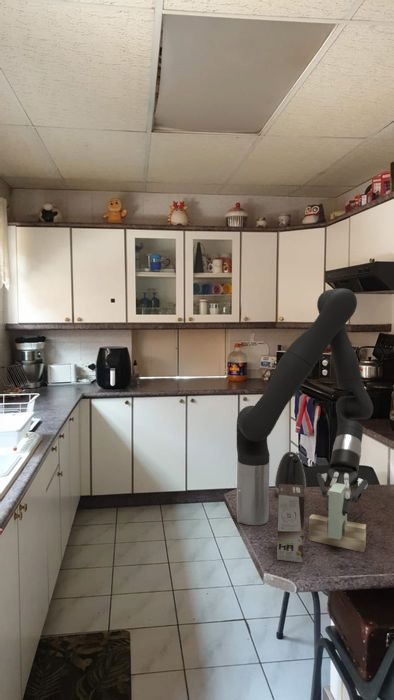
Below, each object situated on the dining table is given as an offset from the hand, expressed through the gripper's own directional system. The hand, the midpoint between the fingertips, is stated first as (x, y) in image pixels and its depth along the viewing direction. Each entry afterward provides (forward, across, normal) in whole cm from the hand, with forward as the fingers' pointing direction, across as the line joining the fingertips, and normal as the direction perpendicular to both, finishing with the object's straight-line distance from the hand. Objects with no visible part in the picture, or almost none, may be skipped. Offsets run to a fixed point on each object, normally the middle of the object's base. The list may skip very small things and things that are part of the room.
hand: (336, 512), depth 119 cm
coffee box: (+13, -10, 0) cm, 16 cm away
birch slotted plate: (+5, 0, +8) cm, 9 cm away
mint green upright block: (+3, 0, +6) cm, 6 cm away
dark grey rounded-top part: (-14, -21, +28) cm, 38 cm away
